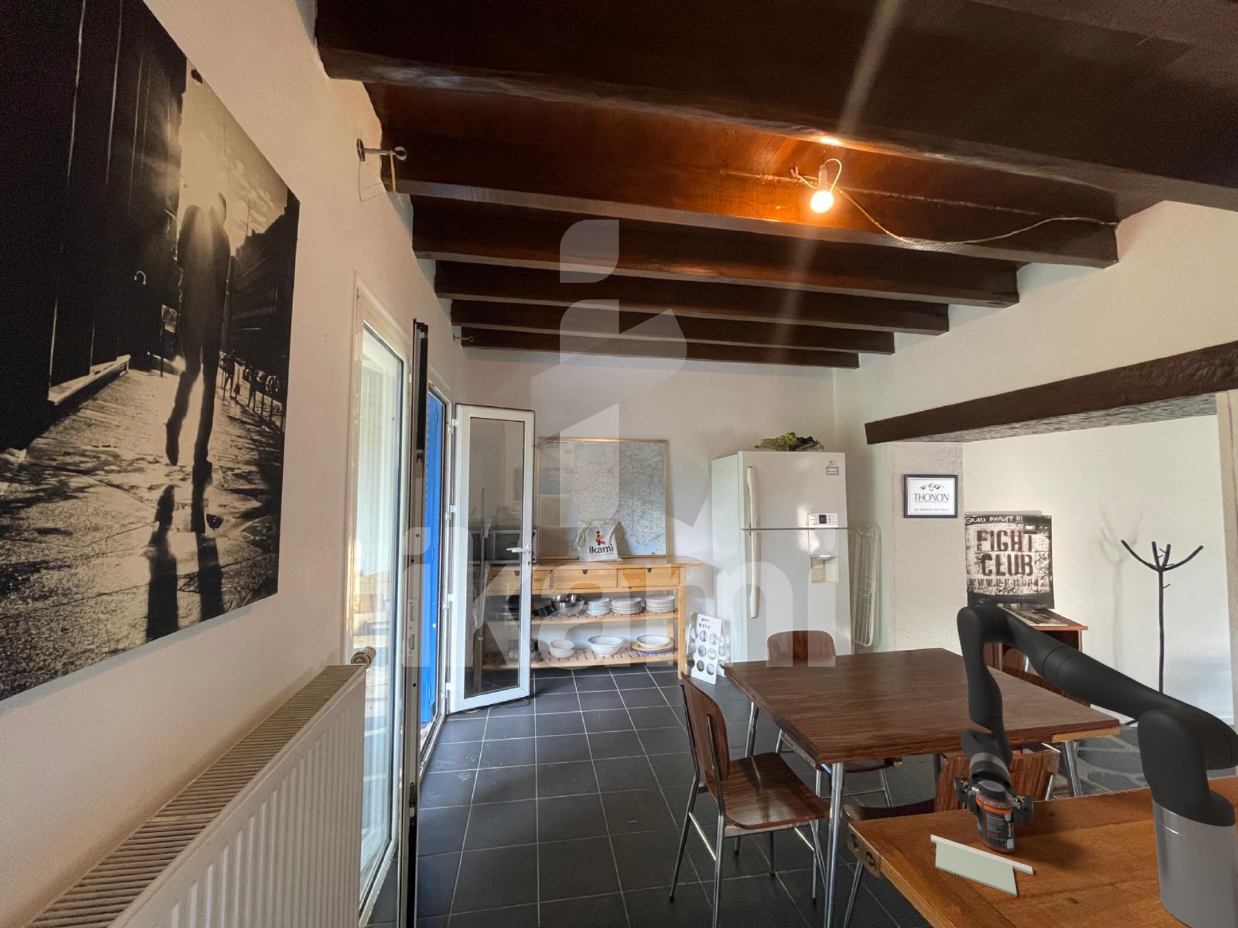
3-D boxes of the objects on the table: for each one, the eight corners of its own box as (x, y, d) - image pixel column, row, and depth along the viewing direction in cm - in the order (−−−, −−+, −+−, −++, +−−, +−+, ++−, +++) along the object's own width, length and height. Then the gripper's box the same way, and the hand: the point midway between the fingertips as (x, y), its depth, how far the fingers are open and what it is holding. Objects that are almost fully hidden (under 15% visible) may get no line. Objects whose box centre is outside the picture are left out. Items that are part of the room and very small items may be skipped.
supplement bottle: (1022, 856, 95) (1018, 795, 96) (987, 852, 96) (984, 792, 97) (1004, 835, 101) (1000, 778, 102) (972, 832, 102) (969, 775, 103)
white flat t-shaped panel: (1031, 869, 92) (1031, 866, 92) (1039, 903, 84) (1039, 900, 84) (931, 836, 101) (931, 834, 101) (929, 865, 93) (929, 862, 93)
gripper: (950, 751, 115) (950, 785, 101) (1029, 769, 107) (1041, 809, 93) (952, 784, 115) (952, 823, 101) (1032, 805, 106) (1044, 850, 93)
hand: (995, 816), depth 97 cm, fingers closed on supplement bottle, 6 cm apart
